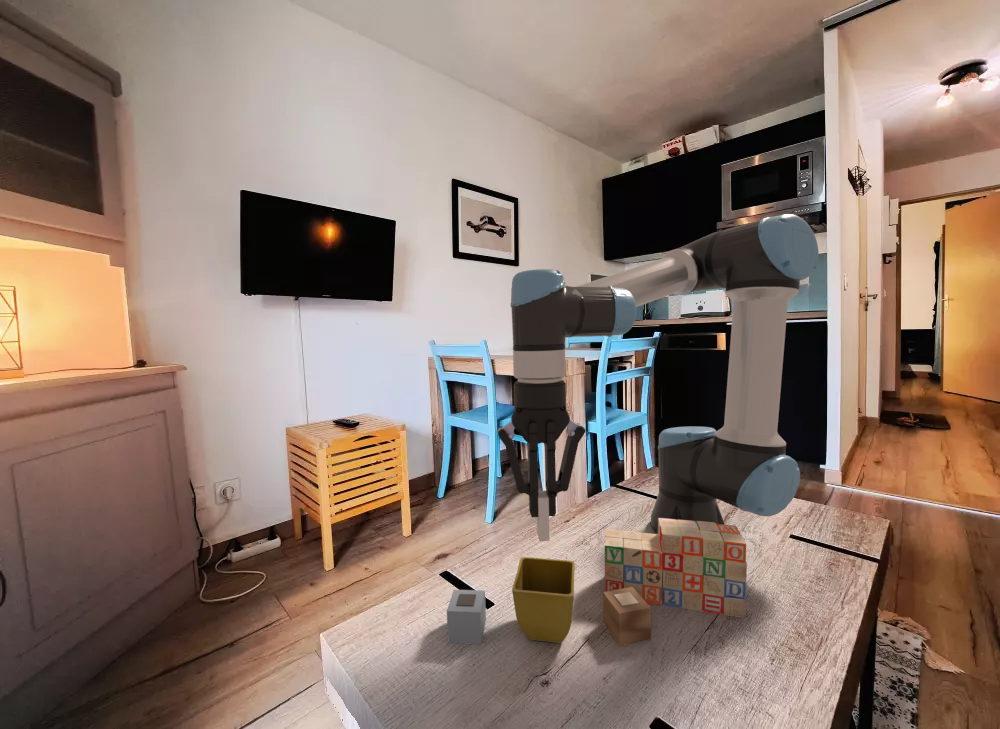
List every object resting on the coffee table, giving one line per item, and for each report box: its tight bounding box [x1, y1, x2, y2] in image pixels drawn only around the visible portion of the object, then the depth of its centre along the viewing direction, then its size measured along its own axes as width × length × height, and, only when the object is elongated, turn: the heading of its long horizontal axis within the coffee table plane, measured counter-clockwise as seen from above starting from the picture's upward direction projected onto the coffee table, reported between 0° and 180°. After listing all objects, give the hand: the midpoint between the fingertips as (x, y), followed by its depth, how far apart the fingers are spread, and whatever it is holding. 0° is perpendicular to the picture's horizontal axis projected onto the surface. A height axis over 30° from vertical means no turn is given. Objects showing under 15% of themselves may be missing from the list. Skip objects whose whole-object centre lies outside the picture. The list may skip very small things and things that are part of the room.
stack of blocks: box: [604, 518, 748, 619], centre depth 69 cm, size 21×6×12 cm, turn 73°
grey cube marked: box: [446, 589, 487, 645], centre depth 62 cm, size 5×5×5 cm
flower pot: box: [511, 556, 576, 644], centre depth 62 cm, size 9×9×9 cm
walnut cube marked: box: [602, 587, 652, 647], centre depth 61 cm, size 5×5×5 cm
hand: (543, 536), depth 61 cm, fingers closed
